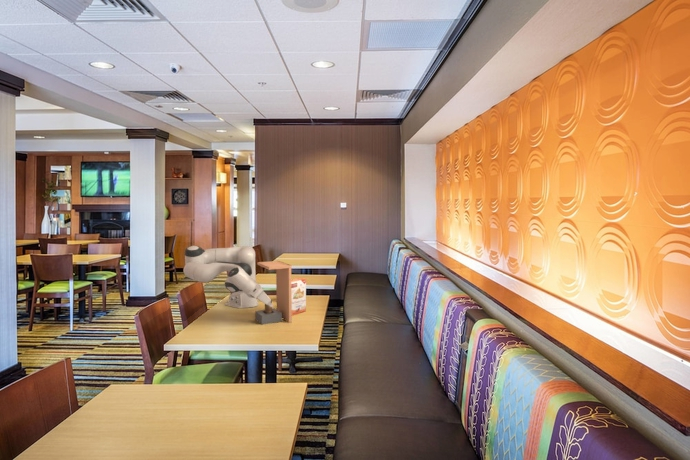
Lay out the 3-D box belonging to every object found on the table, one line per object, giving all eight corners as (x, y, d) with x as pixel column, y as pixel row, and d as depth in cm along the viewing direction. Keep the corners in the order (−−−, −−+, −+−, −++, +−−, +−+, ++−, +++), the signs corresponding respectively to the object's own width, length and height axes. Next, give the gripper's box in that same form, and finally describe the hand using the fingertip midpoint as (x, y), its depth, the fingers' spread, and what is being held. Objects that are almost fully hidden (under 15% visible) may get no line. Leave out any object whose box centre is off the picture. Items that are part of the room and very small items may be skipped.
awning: (269, 325, 233) (269, 266, 231) (258, 317, 250) (257, 262, 248) (291, 322, 240) (291, 265, 237) (278, 314, 257) (278, 260, 255)
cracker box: (290, 316, 252) (290, 282, 251) (283, 314, 256) (283, 280, 254) (306, 311, 263) (306, 278, 262) (299, 309, 267) (299, 277, 265)
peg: (263, 320, 242) (263, 300, 242) (267, 319, 246) (267, 299, 245) (268, 321, 240) (268, 301, 240) (273, 320, 244) (273, 299, 243)
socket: (262, 324, 235) (261, 315, 235) (255, 319, 245) (255, 310, 245) (282, 321, 241) (282, 313, 241) (274, 316, 251) (274, 308, 251)
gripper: (243, 290, 245) (259, 304, 251) (254, 297, 228) (271, 312, 233) (250, 282, 247) (266, 296, 253) (262, 288, 230) (279, 303, 235)
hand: (269, 304), depth 243 cm, fingers open, 8 cm apart
